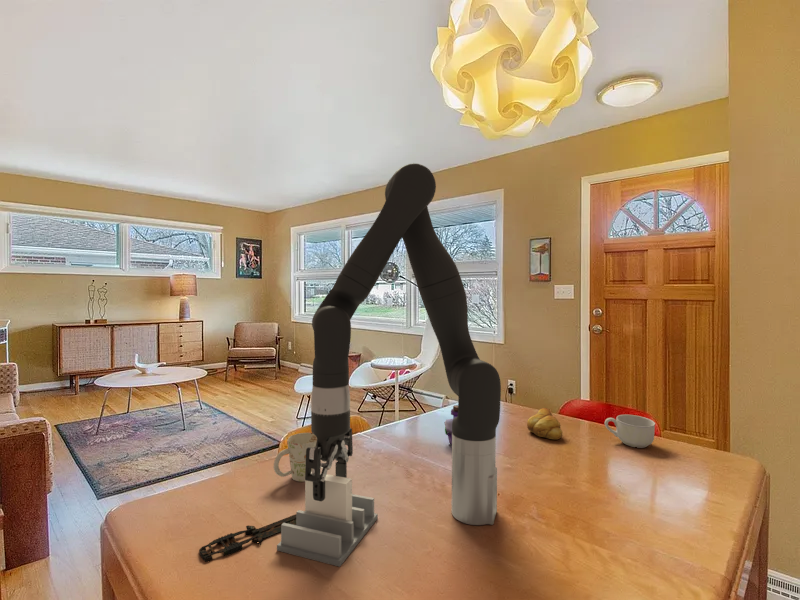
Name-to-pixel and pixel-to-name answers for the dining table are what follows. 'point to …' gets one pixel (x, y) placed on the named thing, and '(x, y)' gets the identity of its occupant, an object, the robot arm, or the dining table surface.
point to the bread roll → (544, 425)
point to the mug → (296, 455)
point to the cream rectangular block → (331, 498)
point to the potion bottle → (449, 423)
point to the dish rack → (328, 533)
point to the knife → (236, 546)
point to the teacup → (633, 430)
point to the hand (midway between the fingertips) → (330, 489)
